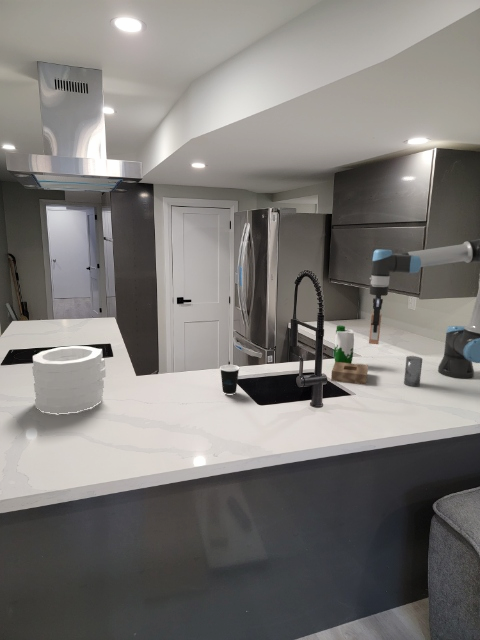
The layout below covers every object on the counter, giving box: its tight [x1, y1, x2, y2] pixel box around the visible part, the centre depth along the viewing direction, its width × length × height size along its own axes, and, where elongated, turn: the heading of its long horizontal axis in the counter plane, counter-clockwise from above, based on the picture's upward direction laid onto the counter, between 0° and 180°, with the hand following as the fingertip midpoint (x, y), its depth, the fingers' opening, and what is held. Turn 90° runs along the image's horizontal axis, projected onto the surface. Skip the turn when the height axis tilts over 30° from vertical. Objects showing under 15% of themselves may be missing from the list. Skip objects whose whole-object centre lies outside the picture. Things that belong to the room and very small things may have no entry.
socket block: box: [330, 361, 369, 386], centre depth 189 cm, size 15×15×4 cm
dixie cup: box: [219, 364, 241, 394], centre depth 166 cm, size 8×8×11 cm
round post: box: [403, 355, 423, 388], centre depth 180 cm, size 6×6×12 cm
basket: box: [32, 345, 107, 414], centre depth 155 cm, size 25×24×19 cm
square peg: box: [368, 312, 382, 345], centre depth 182 cm, size 4×4×13 cm
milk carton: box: [333, 325, 355, 364], centre depth 205 cm, size 9×9×20 cm
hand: (374, 338), depth 183 cm, fingers closed on square peg, 4 cm apart
